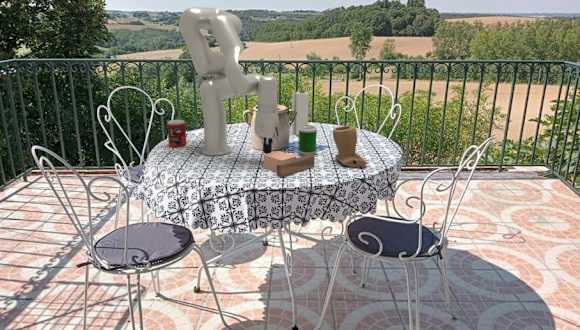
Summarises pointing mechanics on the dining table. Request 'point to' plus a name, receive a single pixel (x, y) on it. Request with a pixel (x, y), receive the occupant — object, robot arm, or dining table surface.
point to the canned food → (176, 133)
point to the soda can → (307, 139)
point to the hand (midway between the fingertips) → (267, 152)
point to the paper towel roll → (300, 110)
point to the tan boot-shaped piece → (347, 146)
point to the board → (295, 165)
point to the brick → (276, 159)
